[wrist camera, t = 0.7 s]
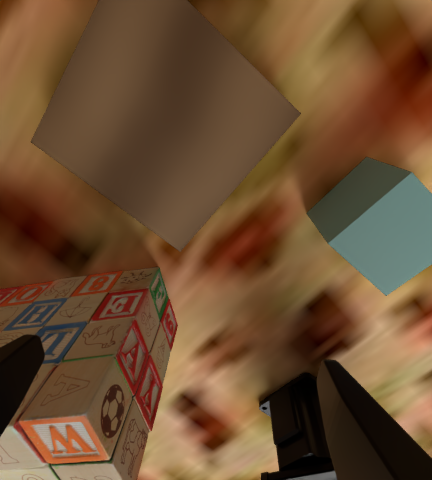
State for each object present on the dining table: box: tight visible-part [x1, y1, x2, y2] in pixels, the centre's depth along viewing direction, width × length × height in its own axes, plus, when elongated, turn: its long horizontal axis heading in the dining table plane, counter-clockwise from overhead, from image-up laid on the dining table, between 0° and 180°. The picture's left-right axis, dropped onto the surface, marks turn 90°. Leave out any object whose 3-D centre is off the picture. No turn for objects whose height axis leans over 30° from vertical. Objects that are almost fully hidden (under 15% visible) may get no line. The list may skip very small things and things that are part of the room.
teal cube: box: [307, 157, 432, 296], centre depth 17 cm, size 5×5×5 cm
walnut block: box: [31, 0, 301, 251], centre depth 16 cm, size 10×10×4 cm
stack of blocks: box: [0, 267, 178, 480], centre depth 19 cm, size 21×6×12 cm, turn 101°
